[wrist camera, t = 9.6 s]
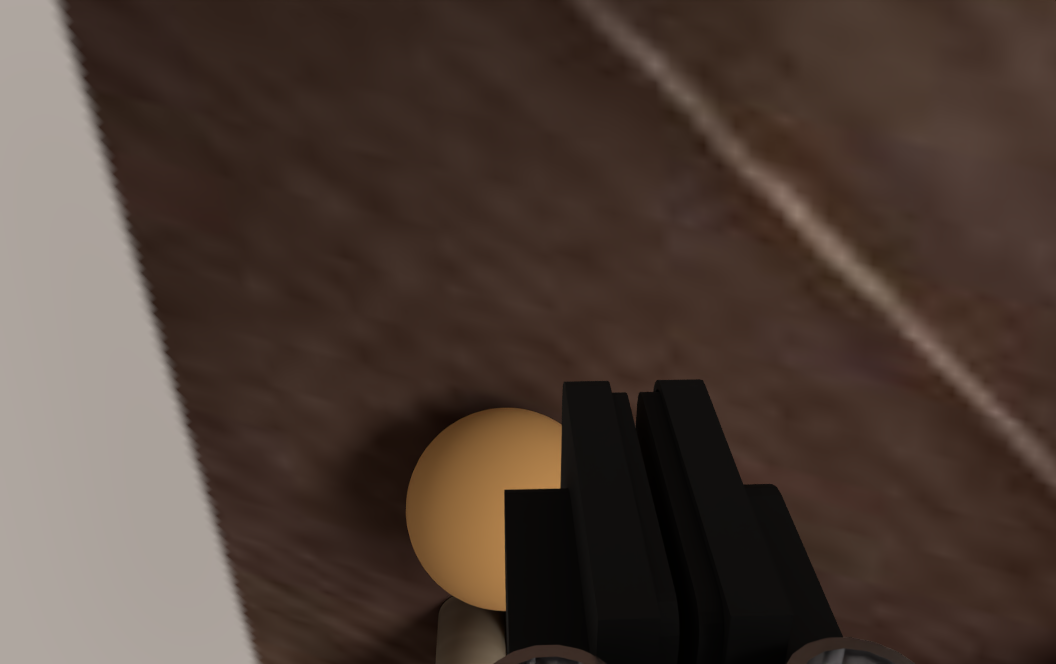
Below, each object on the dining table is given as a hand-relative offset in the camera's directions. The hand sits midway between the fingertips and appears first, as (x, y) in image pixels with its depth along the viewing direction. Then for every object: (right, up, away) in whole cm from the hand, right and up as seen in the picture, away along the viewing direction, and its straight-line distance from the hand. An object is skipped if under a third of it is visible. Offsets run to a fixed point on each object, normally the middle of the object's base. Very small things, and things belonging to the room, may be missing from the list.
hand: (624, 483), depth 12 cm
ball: (-2, -3, +18) cm, 18 cm away
